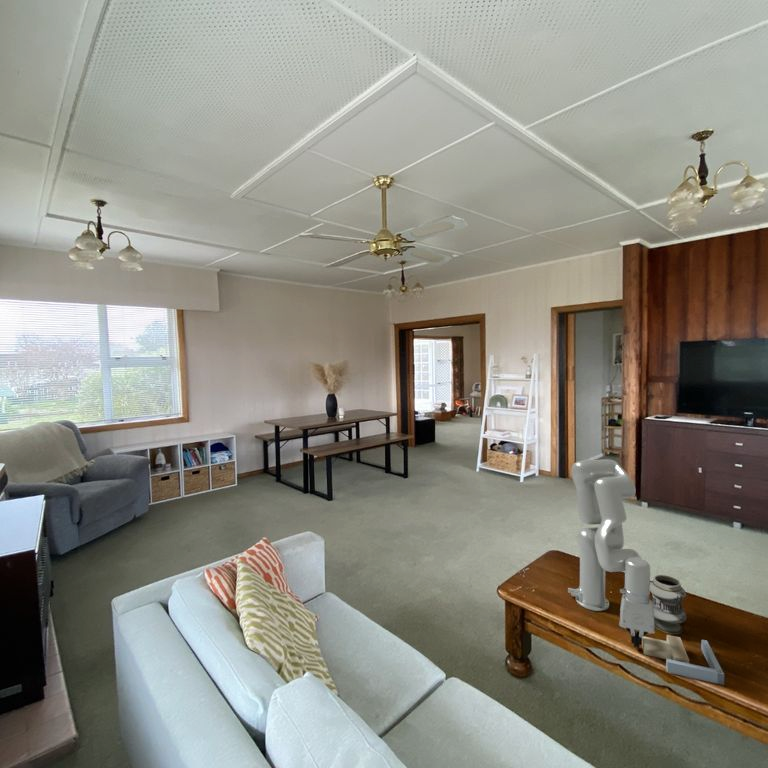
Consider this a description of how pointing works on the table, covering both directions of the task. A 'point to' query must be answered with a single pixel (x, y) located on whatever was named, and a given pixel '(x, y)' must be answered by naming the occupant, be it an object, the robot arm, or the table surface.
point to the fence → (699, 667)
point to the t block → (665, 648)
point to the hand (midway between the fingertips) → (636, 645)
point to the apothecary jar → (667, 604)
